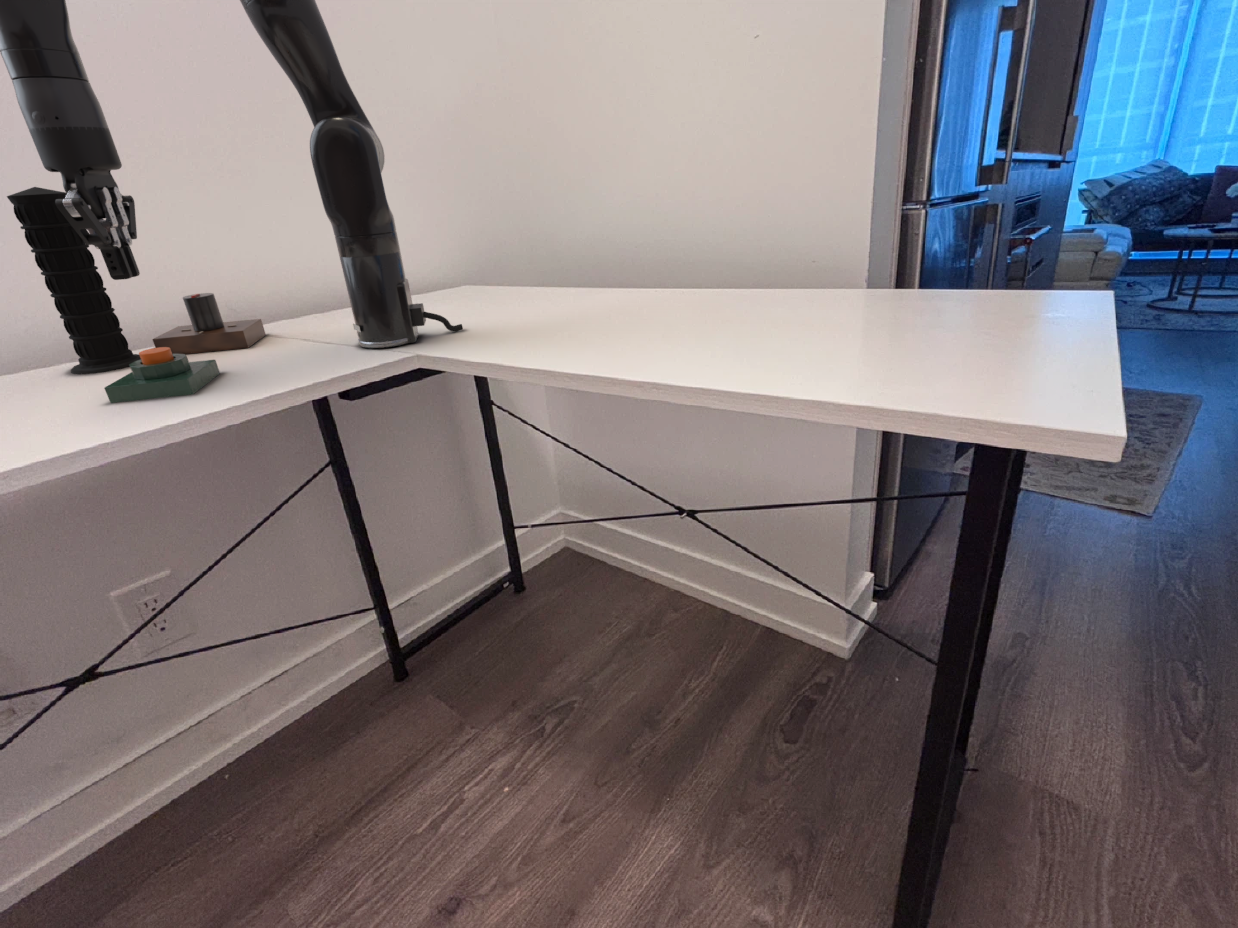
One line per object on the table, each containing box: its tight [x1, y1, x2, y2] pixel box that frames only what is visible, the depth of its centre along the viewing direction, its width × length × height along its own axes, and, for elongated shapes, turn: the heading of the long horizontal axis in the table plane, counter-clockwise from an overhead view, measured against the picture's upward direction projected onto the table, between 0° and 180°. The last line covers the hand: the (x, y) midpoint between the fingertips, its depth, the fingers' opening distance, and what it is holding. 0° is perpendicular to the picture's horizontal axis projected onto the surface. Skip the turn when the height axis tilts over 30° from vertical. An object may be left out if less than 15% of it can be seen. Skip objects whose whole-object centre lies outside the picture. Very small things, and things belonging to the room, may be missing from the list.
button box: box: [103, 354, 221, 404], centre depth 86 cm, size 10×10×4 cm
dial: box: [182, 292, 224, 331], centre depth 107 cm, size 5×5×6 cm
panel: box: [152, 318, 267, 355], centre depth 109 cm, size 14×10×3 cm
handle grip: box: [6, 186, 141, 376], centre depth 95 cm, size 10×26×10 cm
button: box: [138, 347, 174, 365], centre depth 85 cm, size 4×4×2 cm
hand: (126, 277), depth 81 cm, fingers closed
